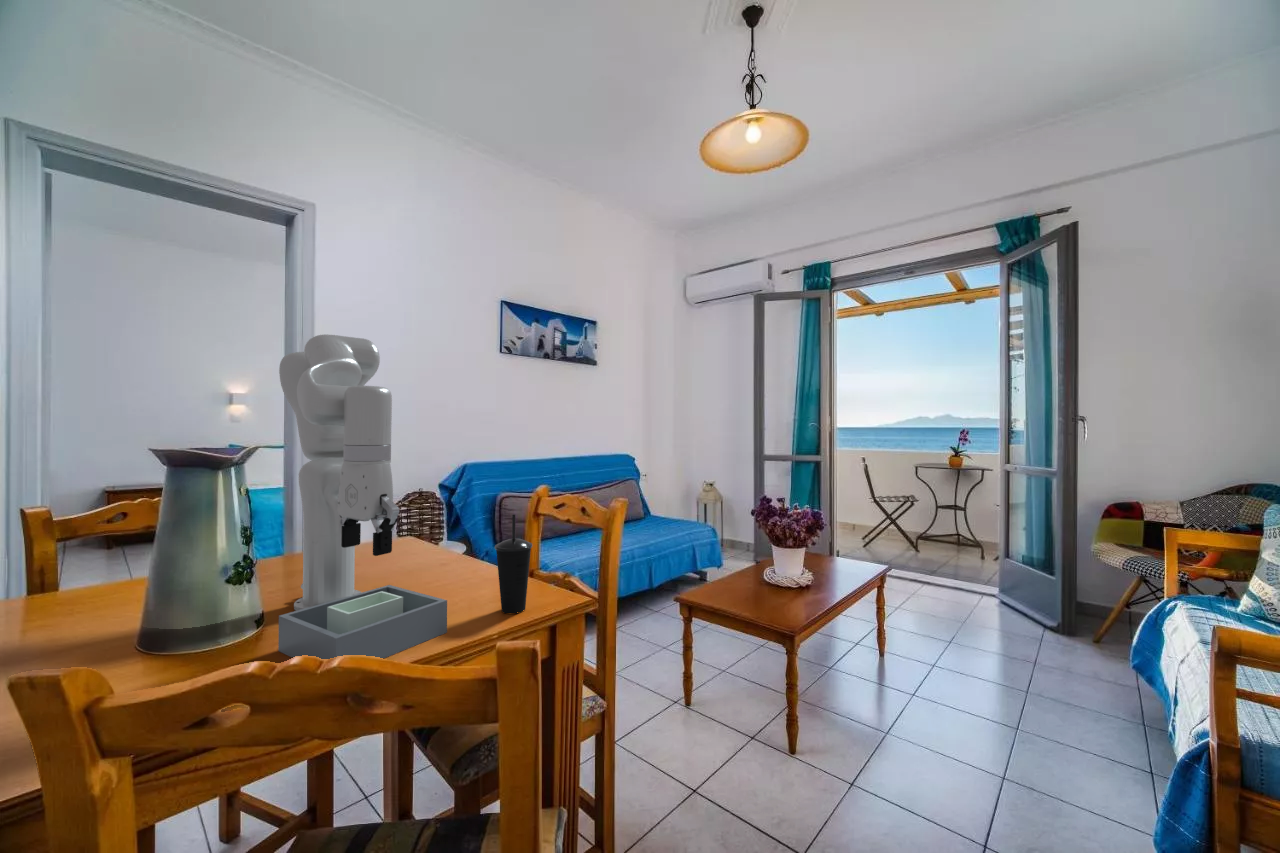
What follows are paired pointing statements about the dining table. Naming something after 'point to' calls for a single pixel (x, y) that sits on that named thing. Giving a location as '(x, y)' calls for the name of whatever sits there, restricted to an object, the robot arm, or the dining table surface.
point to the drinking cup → (513, 572)
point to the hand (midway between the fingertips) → (366, 550)
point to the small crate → (363, 611)
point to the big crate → (364, 628)
